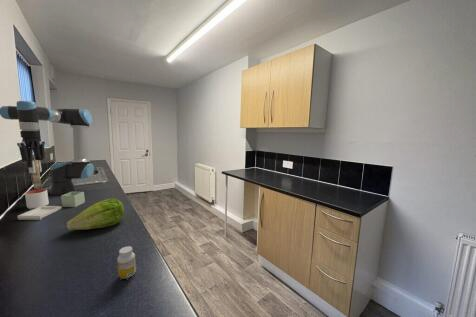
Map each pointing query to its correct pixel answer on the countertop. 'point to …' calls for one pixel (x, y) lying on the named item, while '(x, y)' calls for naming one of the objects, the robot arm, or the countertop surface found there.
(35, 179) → the dowel
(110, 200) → the lettuce
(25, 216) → the dish
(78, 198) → the pen pot
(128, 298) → the countertop surface
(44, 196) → the cup
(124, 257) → the supplement bottle
